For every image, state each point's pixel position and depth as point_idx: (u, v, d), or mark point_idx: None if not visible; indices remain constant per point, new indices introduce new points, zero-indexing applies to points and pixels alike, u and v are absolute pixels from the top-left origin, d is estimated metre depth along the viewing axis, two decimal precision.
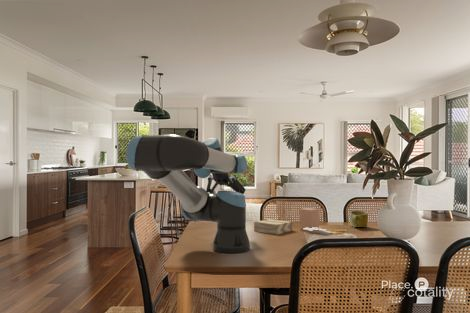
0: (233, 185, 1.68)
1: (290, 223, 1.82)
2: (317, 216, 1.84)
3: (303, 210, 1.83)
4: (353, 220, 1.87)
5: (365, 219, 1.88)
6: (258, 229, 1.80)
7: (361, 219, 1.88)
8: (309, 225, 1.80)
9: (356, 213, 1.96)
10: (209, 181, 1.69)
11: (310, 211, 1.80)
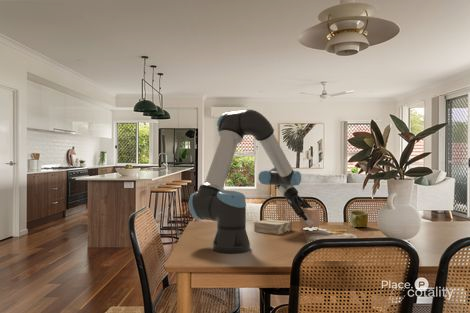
0: None
1: (290, 223, 1.82)
2: (317, 216, 1.84)
3: (303, 210, 1.83)
4: (353, 220, 1.87)
5: (365, 219, 1.88)
6: (258, 230, 1.80)
7: (361, 219, 1.88)
8: None
9: (356, 213, 1.96)
10: (293, 201, 1.84)
11: (310, 211, 1.80)
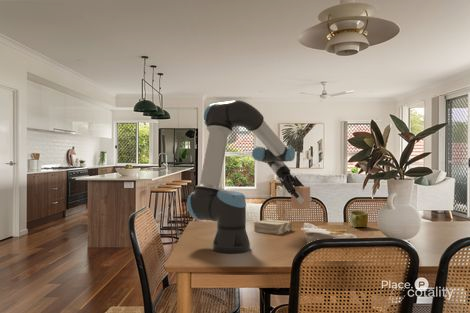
0: None
1: (290, 223, 1.82)
2: (309, 194, 1.84)
3: (294, 188, 1.83)
4: (353, 220, 1.87)
5: (365, 219, 1.88)
6: (258, 230, 1.79)
7: (361, 219, 1.88)
8: None
9: (356, 213, 1.96)
10: (284, 179, 1.85)
11: (301, 188, 1.80)
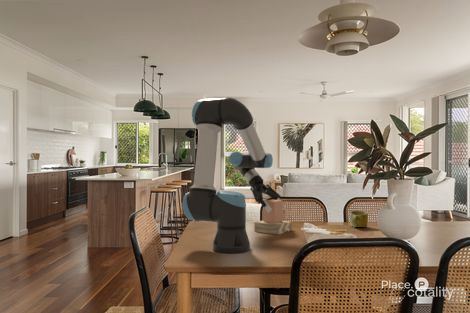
0: None
1: (290, 223, 1.83)
2: (281, 208, 1.82)
3: None
4: (353, 220, 1.87)
5: (365, 219, 1.88)
6: (258, 230, 1.79)
7: (361, 219, 1.88)
8: (272, 217, 1.78)
9: (356, 213, 1.96)
10: (255, 188, 1.83)
11: (273, 203, 1.78)
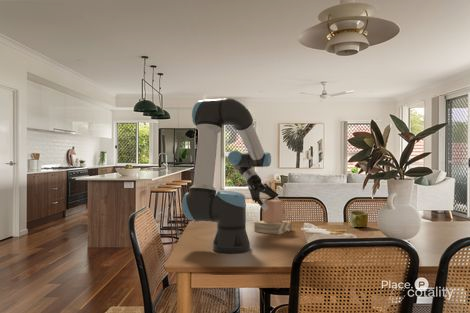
0: None
1: (290, 223, 1.83)
2: (281, 208, 1.82)
3: (266, 202, 1.81)
4: (353, 220, 1.87)
5: (365, 219, 1.88)
6: (258, 230, 1.79)
7: (361, 219, 1.88)
8: (271, 217, 1.78)
9: (356, 213, 1.96)
10: (252, 187, 1.84)
11: (272, 202, 1.78)
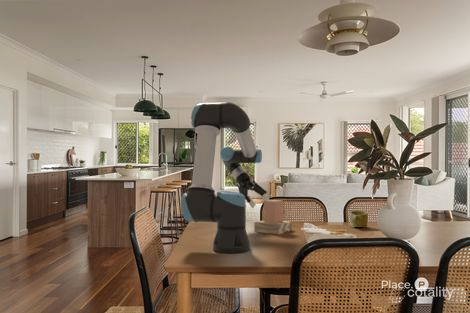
0: None
1: (290, 223, 1.83)
2: (281, 208, 1.82)
3: (267, 202, 1.81)
4: (353, 220, 1.87)
5: (365, 219, 1.88)
6: (258, 230, 1.79)
7: (361, 219, 1.88)
8: (272, 217, 1.78)
9: (356, 213, 1.96)
10: (241, 184, 1.90)
11: (273, 202, 1.78)
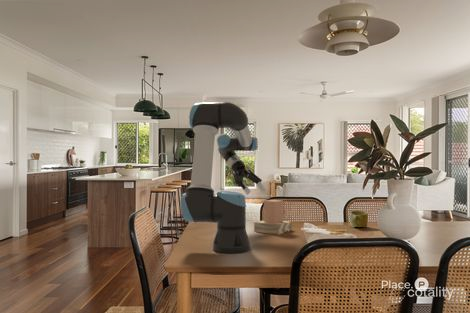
0: None
1: (290, 223, 1.83)
2: (281, 208, 1.82)
3: (267, 202, 1.81)
4: (353, 220, 1.87)
5: (365, 219, 1.88)
6: (258, 230, 1.79)
7: (361, 219, 1.88)
8: (272, 217, 1.79)
9: (356, 213, 1.96)
10: (236, 172, 1.92)
11: (273, 203, 1.78)
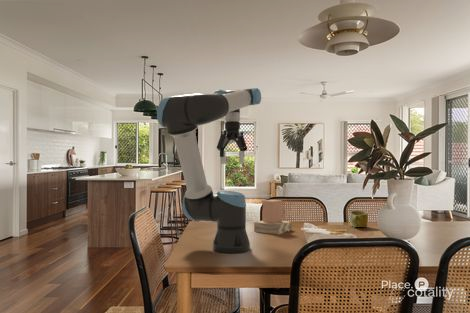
0: None
1: (290, 223, 1.82)
2: (280, 208, 1.82)
3: (265, 202, 1.81)
4: (353, 220, 1.87)
5: (365, 219, 1.88)
6: (258, 230, 1.79)
7: (361, 219, 1.88)
8: (270, 217, 1.79)
9: (356, 213, 1.96)
10: (225, 134, 1.71)
11: (271, 202, 1.78)
